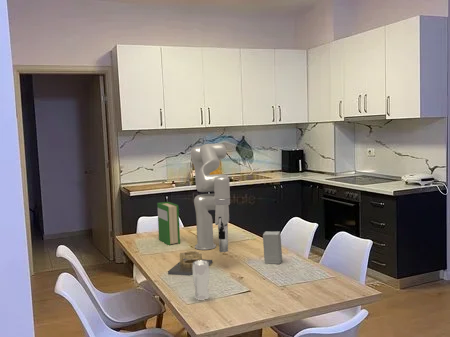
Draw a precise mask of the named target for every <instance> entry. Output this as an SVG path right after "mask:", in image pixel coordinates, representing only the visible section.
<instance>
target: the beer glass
mask: <svg viewBox="0 0 450 337" xmlns="http://www.w3.org/2000/svg"><path fill="white" fill-rule="evenodd" d="M192 273H193V276H192V280H193V285H194V291H195V292H194V299H195V298H196V299H198V300H204V299H208V298H209V299H210V294H209V281H210V266H209V262H208V261H204V260H199V261H195V262H193V269H192ZM209 299H208V300H209ZM198 300H197V301H198ZM204 301H205V300H204Z"/></svg>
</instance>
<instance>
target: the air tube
mask: <svg viewBox="0 0 450 337" xmlns="http://www.w3.org/2000/svg"><path fill="white" fill-rule="evenodd" d="M228 224H229V222H228V223H226V225H225V226H224V231H225V239H219V238H218V245H219V246H218V247H219V248H218V251H219V252H220V253H228V251H229V239H228V238H229V232H228V231H229V230H228V227H229V225H228ZM221 225H223V224H221ZM227 225H228V227H227ZM221 227H223V226H221Z"/></svg>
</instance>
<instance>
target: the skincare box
mask: <svg viewBox="0 0 450 337" xmlns="http://www.w3.org/2000/svg"><path fill="white" fill-rule="evenodd" d="M262 243H263V244H262V245H263V256H264V257H263V259H264V264H267V263H268V264H269V265H272V264H273V265H280V264H281V263H282V261H283V251H282V237H281V231H264V232H263V234H262Z"/></svg>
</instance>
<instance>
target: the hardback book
mask: <svg viewBox="0 0 450 337" xmlns="http://www.w3.org/2000/svg"><path fill="white" fill-rule="evenodd" d="M156 205H157V224H158V225H157V226H158V229H157V230H158V241H160V242H162V243H163V242H164V244H165V245H167V246H168V245H170V246H171V245H174V244H178V245H180V244H181V236H180V234H181V233H180V231H181V230H180V209H179V205H178V204H176V203H173V202H169V201H164V202H163V201H162V202H157V203H156Z"/></svg>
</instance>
